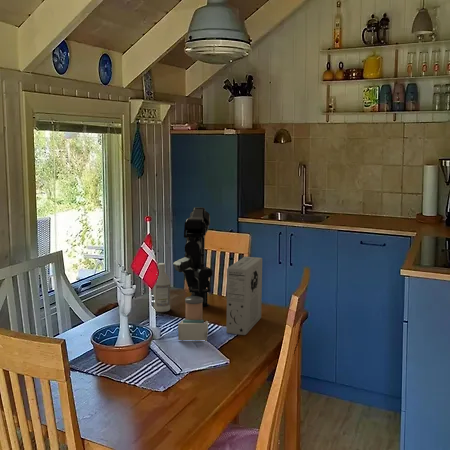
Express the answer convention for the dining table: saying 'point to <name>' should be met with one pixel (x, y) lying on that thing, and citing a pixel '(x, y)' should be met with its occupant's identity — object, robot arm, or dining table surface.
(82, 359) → the dining table surface
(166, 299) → the bath foam
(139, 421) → the dining table surface
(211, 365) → the dining table surface
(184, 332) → the pusher lane
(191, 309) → the grey brown rounded piece
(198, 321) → the pusher paddle
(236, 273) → the cereal box
